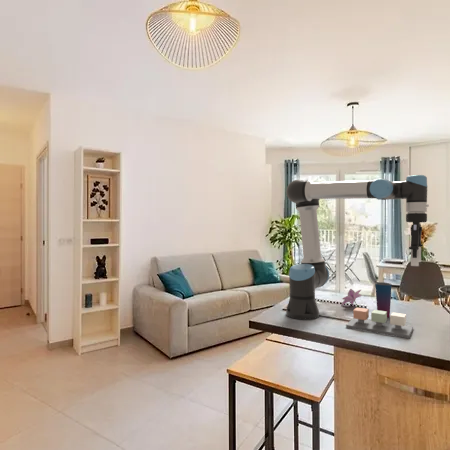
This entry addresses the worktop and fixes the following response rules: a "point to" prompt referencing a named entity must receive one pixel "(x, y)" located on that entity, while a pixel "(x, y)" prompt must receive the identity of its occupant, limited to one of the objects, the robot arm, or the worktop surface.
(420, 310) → the worktop surface
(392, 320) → the cream key
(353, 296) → the lily
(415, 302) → the worktop surface
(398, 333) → the board
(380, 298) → the cup
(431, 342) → the worktop surface
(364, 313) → the terracotta key
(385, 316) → the sage key
